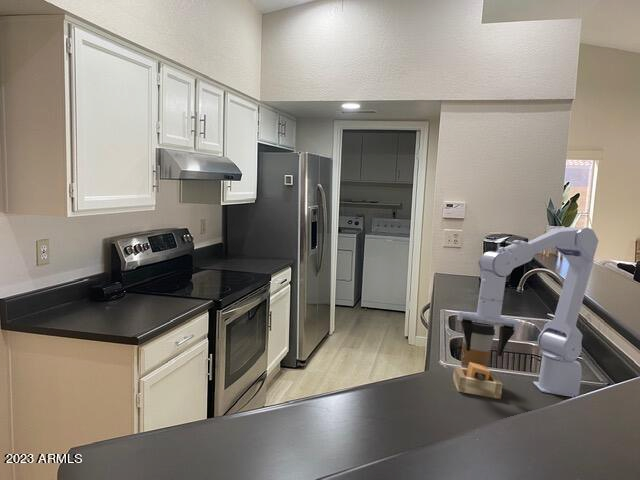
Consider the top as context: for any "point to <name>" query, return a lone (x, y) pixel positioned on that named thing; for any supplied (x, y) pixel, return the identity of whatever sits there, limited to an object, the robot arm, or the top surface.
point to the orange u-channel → (477, 370)
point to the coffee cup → (478, 345)
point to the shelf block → (477, 383)
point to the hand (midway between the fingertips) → (483, 352)
